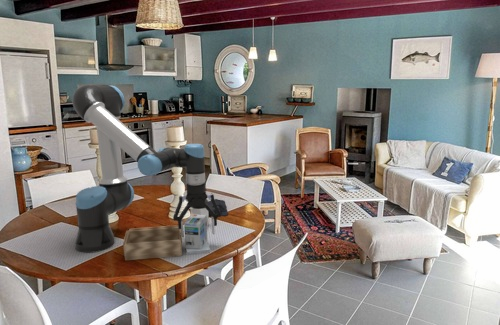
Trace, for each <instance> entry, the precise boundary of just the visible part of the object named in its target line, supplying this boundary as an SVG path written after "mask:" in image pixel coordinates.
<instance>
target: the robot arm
mask: <svg viewBox="0 0 500 325" xmlns="http://www.w3.org/2000/svg"><path fill="white" fill-rule="evenodd" d="M71 100H72V101H71V103H72V106H73V109H74V110H75V112H76V114H77V115H78V116H79V117H80V118H81V119H82V120H84V121H85V122H86V123H88V124H90V123H91V124H92V125H94V126H95V127H96V134H97V142H98V144H97V146H98V151H99V152H98V153H99V160H100V162H99V163H100V169H101V179H100V180H99V182H98V184H99V185H98V186H97V185H95V186H91V187H86V188H84V189H81V190H80V191H78V192H77V194H75V195H76V196H75V207H76V218H77V224H78V226H77V227H78V228H77V234H76V236H75V243H74V244H75V245H74V247H75V249H76V251H78V252H81V253H96V252H100V251H104V250H107V249H110V248H112V247H113V245H115V244H116V239H115V234H114V233H113V230H112V228H111V226H110V219H109V218H110V217H109V216H110V215H112V214H114V213H116V212H119V211H122V210H124V209H126V208H127V207H129V206H130V205H131V204H133V200H134V198H135V197H134V196H135V191H134V188H133V186H131V185H132V184H130V183H129V182H128V178H127V177H126V176H125V175H124V172H123V162H122V161H123V160H122V153H121V152H122V151H123V152H125V153H126V154H127V155H128V156H129V157H130V158H132V159H133V160H134V161H135V162H136V163H137V168H138V170H139V172H140V173H141V174H142V175H144V176H147V177H149V176H155V175H158V174H159V173H162V172H165V171H167V170H171V169H173V168H183V169H184V168H185V182H186V184H185V185H186V195H185V196H184V195H179V196H178V203H177V205H176V208H175V212H174V214H173V221H175V222H176V221H177V225H178V228H179V229H181V230H180V232H181V231H182V238H185V230H184V217H185V216H186V214H187V213H188V211H189V210H190V209H191V206H201V205H203V206H204V207H205V208H206V209H207V210H208V212H209V213H210V214H211V215H212V216H213V217H211V233H212V235H215V234H216V233H215V227H217V226H218V221H217V220H218V218H221V217H222V216H221V213H220V211H219V209H218V207H217V205H216V203H215V201H214V199H215V195H214V193H210V194H207V189H206V187H207V186H206V169H205V164H206V163H205V160H206V159H205V156H206V155H205V148H204V145H203V144H201V143H187V144H185V145H184V148H175V147H161V148H159V149H158V150H157V151H156V150H155V149H153V147H151V146H150V145H149V144H148V143H147V142H145V141H144V140H143V139H142V138H141V137H139V135H137V134H136V133H135V132H133V130H131V129H130V128H129V127H128V126H127V125H126V124H124V123H123V122H122V121H121V120H120V118H121V117H122V116H121V112H122V111H123V110H124V108H125V103H126V100H125V96H124V94H123V92H122V91H121V90H120V89H119V87H117V86H115V85H109V84H85V85H82V86H80V87H78V88H77V89H75V91H74V93H73V95H72V99H71ZM206 199H207V200H208V201H212V204H213V206H214V208H215V210H216V212H217V214H215V213H214V212H213V211H212V209H211V208H210V207H209V206H208V205H207V203H206V202H205V200H206ZM185 201H186V202H187V203H186V206H185V207H184V208H183V210H182V211H181V209H182V208H181V207H182V205H183V203H184V202H185ZM180 211H181V213H180Z"/></svg>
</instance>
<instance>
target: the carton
mask: <svg viewBox="0 0 500 325" xmlns="http://www.w3.org/2000/svg"><path fill="white" fill-rule="evenodd" d="M124 235H125V236H124V238H123V241H122V245H123V246H122V248H123V256H124V260H125V261H135V260H144V259H145V260H147V259H158V258H169V257H181V256H182V254H183V253H182V251H184V250H183V248H184V247H183V237H182V231H181V229H179V228H178V224H177V225H166V226H165V225H164V226H162V225H161V226H150V227H136V228H129V230H126V231H125V234H124Z"/></svg>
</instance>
